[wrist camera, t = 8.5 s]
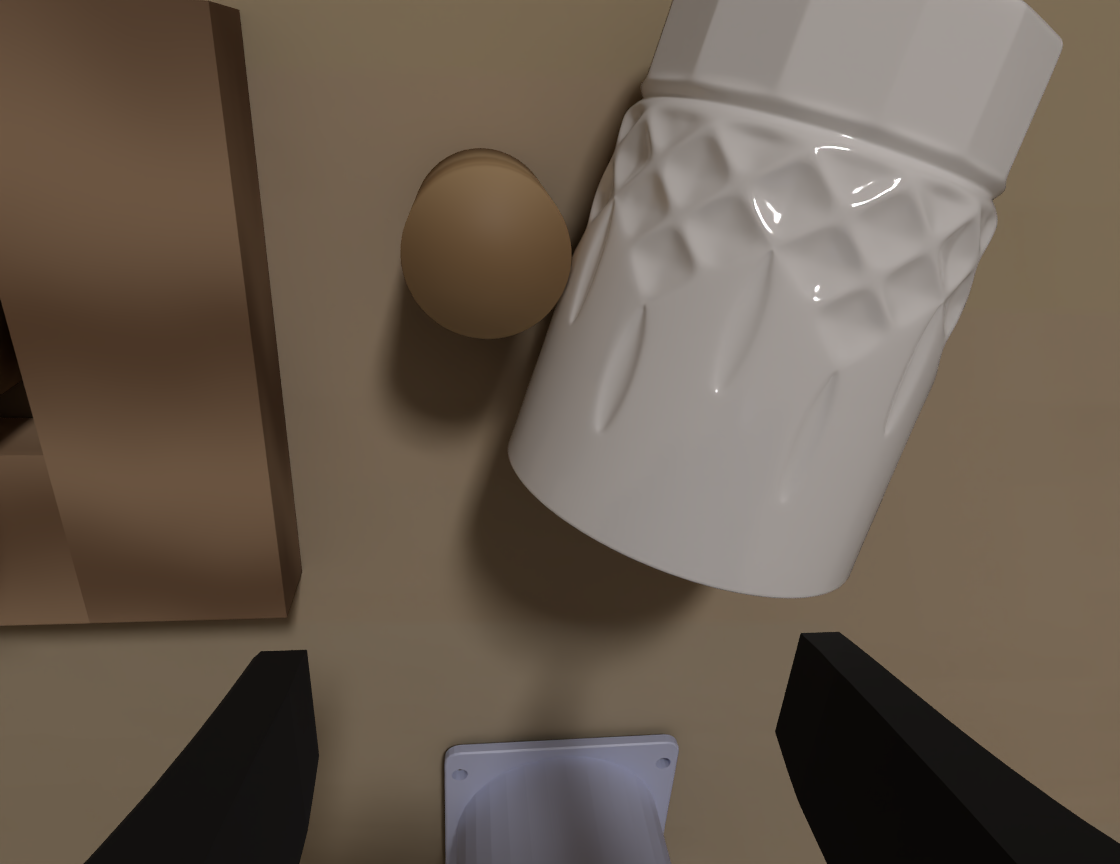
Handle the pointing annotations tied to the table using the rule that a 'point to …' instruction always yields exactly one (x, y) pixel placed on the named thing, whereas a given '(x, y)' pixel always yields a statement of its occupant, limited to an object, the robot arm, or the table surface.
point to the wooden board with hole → (137, 322)
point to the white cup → (775, 279)
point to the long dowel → (7, 357)
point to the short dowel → (485, 246)
